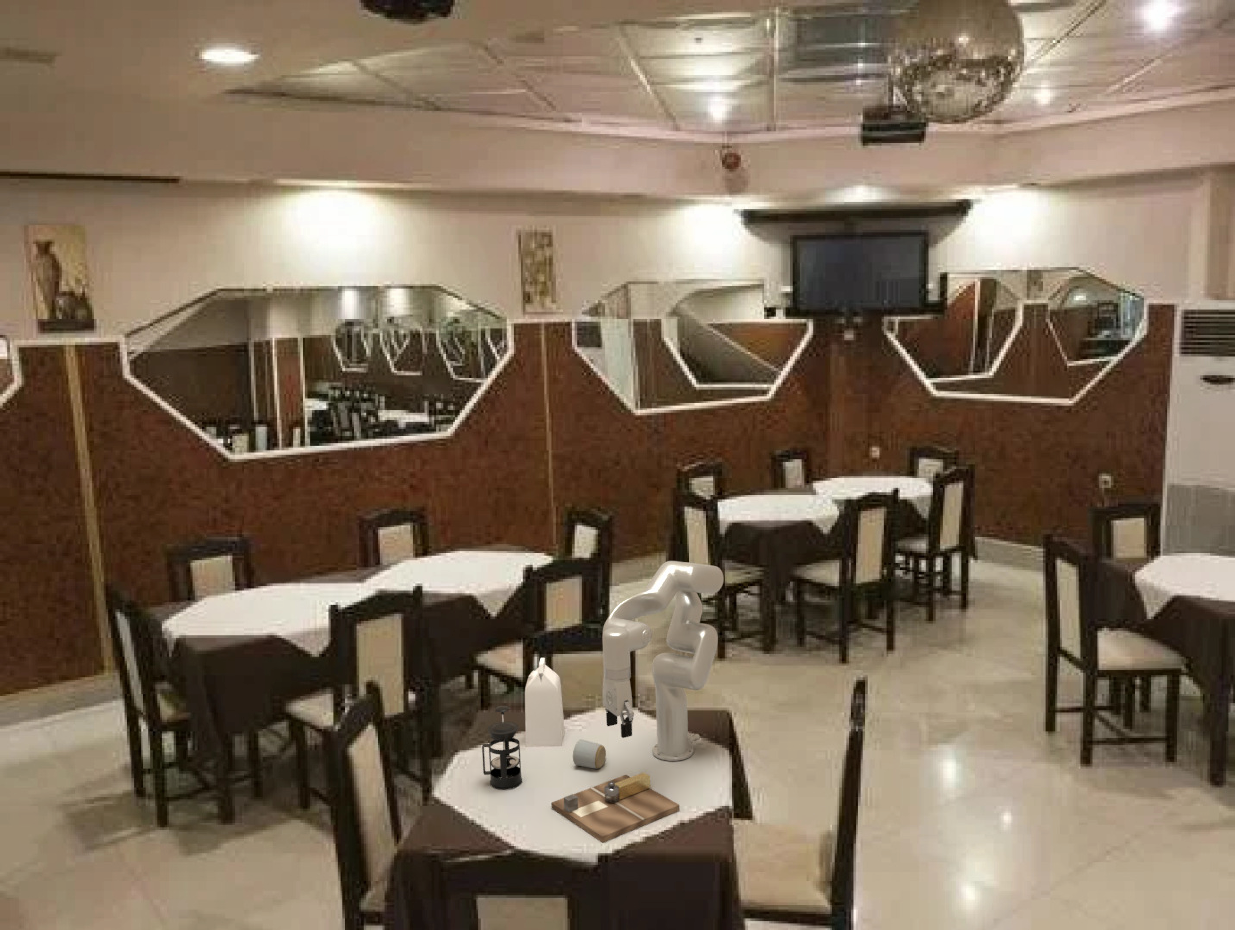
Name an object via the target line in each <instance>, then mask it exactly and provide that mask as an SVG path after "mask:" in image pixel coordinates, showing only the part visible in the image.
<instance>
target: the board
mask: <svg viewBox="0 0 1235 930" xmlns="http://www.w3.org/2000/svg"><path fill="white" fill-rule="evenodd" d="M630 777H631V776H629V775H628V774H624V775H621V776H619V777H616V778H614V779H610V780H608V781H604V782H603V783H600V784H598V785H594V786H591V787H589V788H587V789H584V790H581V791H578V792H575V793H572V794H570V795H566V796H564V797H563V798H560V799H557V800H555V801H552V802H551V803H550V804H551V806H550V807H551V809H552V810H554V811H555V812H557V813H558V814H560V815H561V816H563V817H564V818H566V819H567V820H569V821H570V822H572V823H573V824H574V825H576V826H577V827H579V828H580V829H582V830H584V831H585V832H586V833H588V834H589V835H591V836H592V837H594V839H597V840H598V841H600V842H601V843H605V842H607V841H609V840H612V839H615V838H617V837H620V836H621V835H624V834H626V833H629V832H631V831H633V830H636V829H638V828H641V827H642V826H645V825H647V824H648V825H649V824H651V823H653V822H655V821H657V820H659V819H662V818H665V817H667V816H669V815H673V814H674V813H676V812H679V811H680V804H679V803H677V802H676V801H673V800H671V799H670V798H668V797H666V796H664V795H663V794H661V793H659V792H657V791H656V790H654V789H653V788H651V787H650V788H648V789H646V790H643V791H641V792H638V793H636V794H633V795H631V796H628V797H625V798H623V799H620V800H619V801H618V802H615V803H608V802H606V801H605V791H604V787H605V786H606V785H608V782H610V781H613V782H615V783H617V782H619V781H622V780H625V779H627V778H630Z"/></svg>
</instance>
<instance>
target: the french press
mask: <svg viewBox="0 0 1235 930" xmlns="http://www.w3.org/2000/svg"><path fill="white" fill-rule="evenodd" d="M494 710H495V712H499V713H500V714H501V718H502V721H498V722H495V723H492V724H491V725H489V726H488V728H487V732H488V733H489V738H490V739H492V740H491V741H489V743H483V744H482V746H481V753H482V754H481V755H482V767H483V768H482V770H483V771H482V772H483V775H484V776H487V775H488V776H490V780H489V784H490V786H491V788H493V789H495V790H505V791H507V790H513V789H515V788H517V787H519V786H521V784H522V783H523V778H522V766H521V764H522V763H521V748H520V747H521V744H520V740H519V739H517V738H515V736H516V733H517V732H518V730H519V728H520V726H519V724H518V723H516V722H513V721H504V720H505V719H504V715H505V712H508V711H509V710H510V706H507V705H500V706H497V707H496V708H494ZM498 743H502V748H503V749H496V748H493V747H492V746H494V745H496V744H498ZM510 743H514V744H517V745H516V746H514V747H512V748H510ZM485 748H488V753H489V754H488V755H489V770H488V771H487V770H486V761H485V760H486V759H485V757H486V756H485ZM517 751H518V757H517V756H515V755H510V754H513V753H516V752H517ZM491 753H492V754H495V755H499V756H497V757H495V758H493V759H492V755H491Z"/></svg>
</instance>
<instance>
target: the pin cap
mask: <svg viewBox="0 0 1235 930" xmlns="http://www.w3.org/2000/svg"><path fill="white" fill-rule="evenodd" d="M609 781H610V780H609ZM607 782H608V781H607ZM608 787H609V788H613V787H615V782H613V781H610V782H608Z"/></svg>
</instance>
